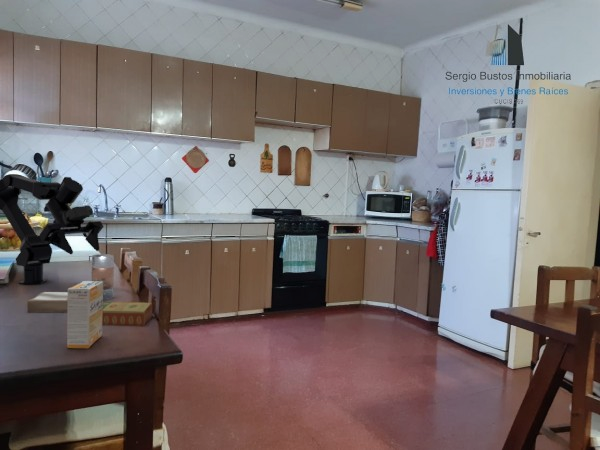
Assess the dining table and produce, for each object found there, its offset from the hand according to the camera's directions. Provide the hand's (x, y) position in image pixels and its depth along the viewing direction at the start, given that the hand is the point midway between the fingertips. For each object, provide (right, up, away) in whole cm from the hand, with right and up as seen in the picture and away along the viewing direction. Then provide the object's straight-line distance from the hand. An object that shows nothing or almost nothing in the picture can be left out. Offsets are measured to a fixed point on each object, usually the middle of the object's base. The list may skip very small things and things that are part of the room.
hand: (85, 251), depth 137 cm
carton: (+19, -17, -22) cm, 34 cm away
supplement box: (+19, -18, -38) cm, 46 cm away
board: (-2, -15, -14) cm, 20 cm away
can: (+6, -14, -2) cm, 15 cm away
